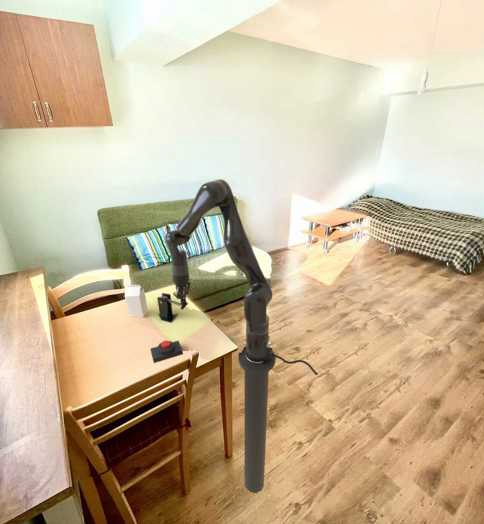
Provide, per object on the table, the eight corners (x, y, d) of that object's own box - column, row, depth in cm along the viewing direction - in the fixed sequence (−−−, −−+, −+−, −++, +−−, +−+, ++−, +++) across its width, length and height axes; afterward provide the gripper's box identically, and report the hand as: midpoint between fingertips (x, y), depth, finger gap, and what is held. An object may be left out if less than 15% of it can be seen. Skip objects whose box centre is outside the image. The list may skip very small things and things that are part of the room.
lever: (187, 305, 137) (188, 301, 136) (183, 311, 132) (183, 306, 131) (164, 297, 139) (164, 293, 138) (158, 302, 135) (159, 298, 134)
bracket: (179, 315, 143) (177, 293, 138) (171, 324, 136) (168, 301, 131) (162, 312, 146) (159, 290, 141) (153, 320, 139) (150, 298, 134)
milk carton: (144, 320, 139) (137, 288, 130) (130, 320, 139) (122, 289, 130) (148, 311, 145) (142, 281, 136) (134, 312, 145) (127, 281, 136)
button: (169, 342, 117) (168, 339, 117) (171, 347, 114) (170, 344, 114) (160, 345, 116) (160, 341, 115) (162, 350, 113) (162, 347, 112)
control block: (178, 344, 122) (178, 337, 120) (183, 354, 116) (182, 346, 114) (150, 352, 117) (149, 345, 116) (153, 363, 111) (152, 355, 110)
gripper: (180, 279, 120) (184, 313, 127) (194, 267, 132) (196, 299, 139) (165, 277, 122) (169, 310, 129) (180, 265, 134) (183, 296, 141)
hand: (183, 304), depth 134 cm, fingers closed
